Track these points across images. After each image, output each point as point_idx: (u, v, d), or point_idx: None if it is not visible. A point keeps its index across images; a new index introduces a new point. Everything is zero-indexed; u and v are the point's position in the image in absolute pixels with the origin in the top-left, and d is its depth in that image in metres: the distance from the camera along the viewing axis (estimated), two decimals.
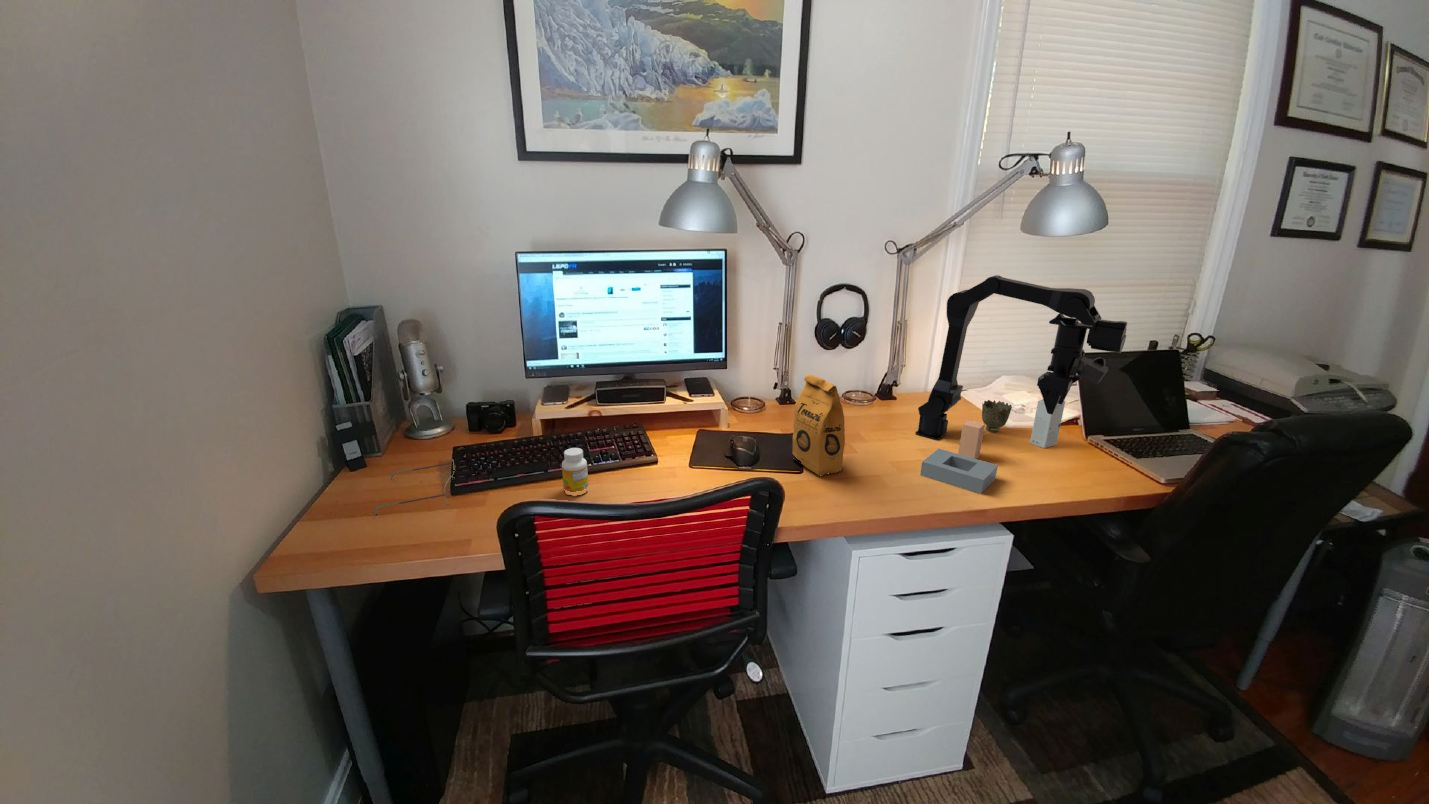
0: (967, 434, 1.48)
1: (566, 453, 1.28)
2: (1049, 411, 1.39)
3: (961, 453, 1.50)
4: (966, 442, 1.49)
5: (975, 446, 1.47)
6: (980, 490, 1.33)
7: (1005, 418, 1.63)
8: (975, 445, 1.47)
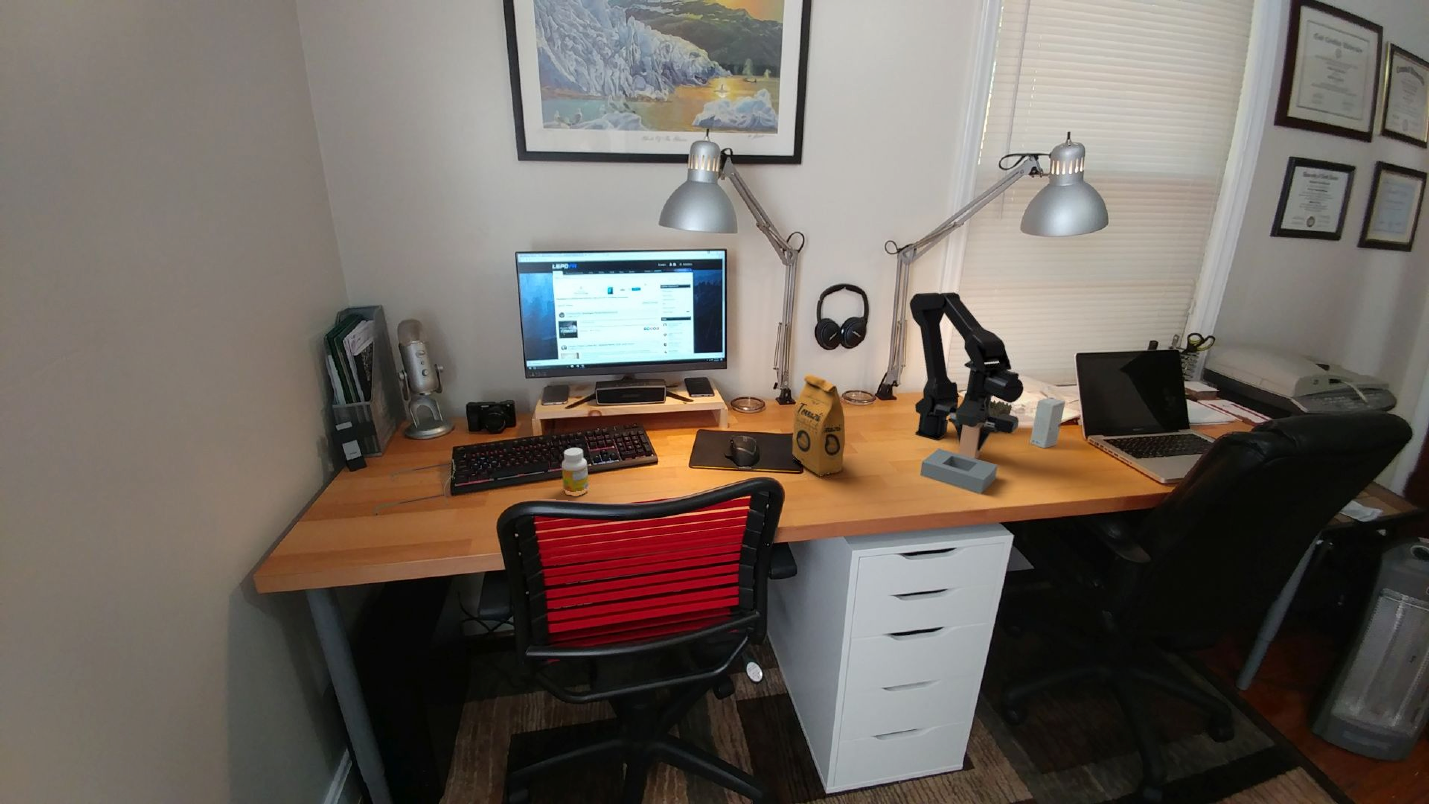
0: (966, 434, 1.48)
1: (566, 453, 1.28)
2: None
3: (961, 453, 1.50)
4: (966, 442, 1.49)
5: (975, 446, 1.47)
6: (980, 490, 1.33)
7: None
8: (975, 445, 1.47)
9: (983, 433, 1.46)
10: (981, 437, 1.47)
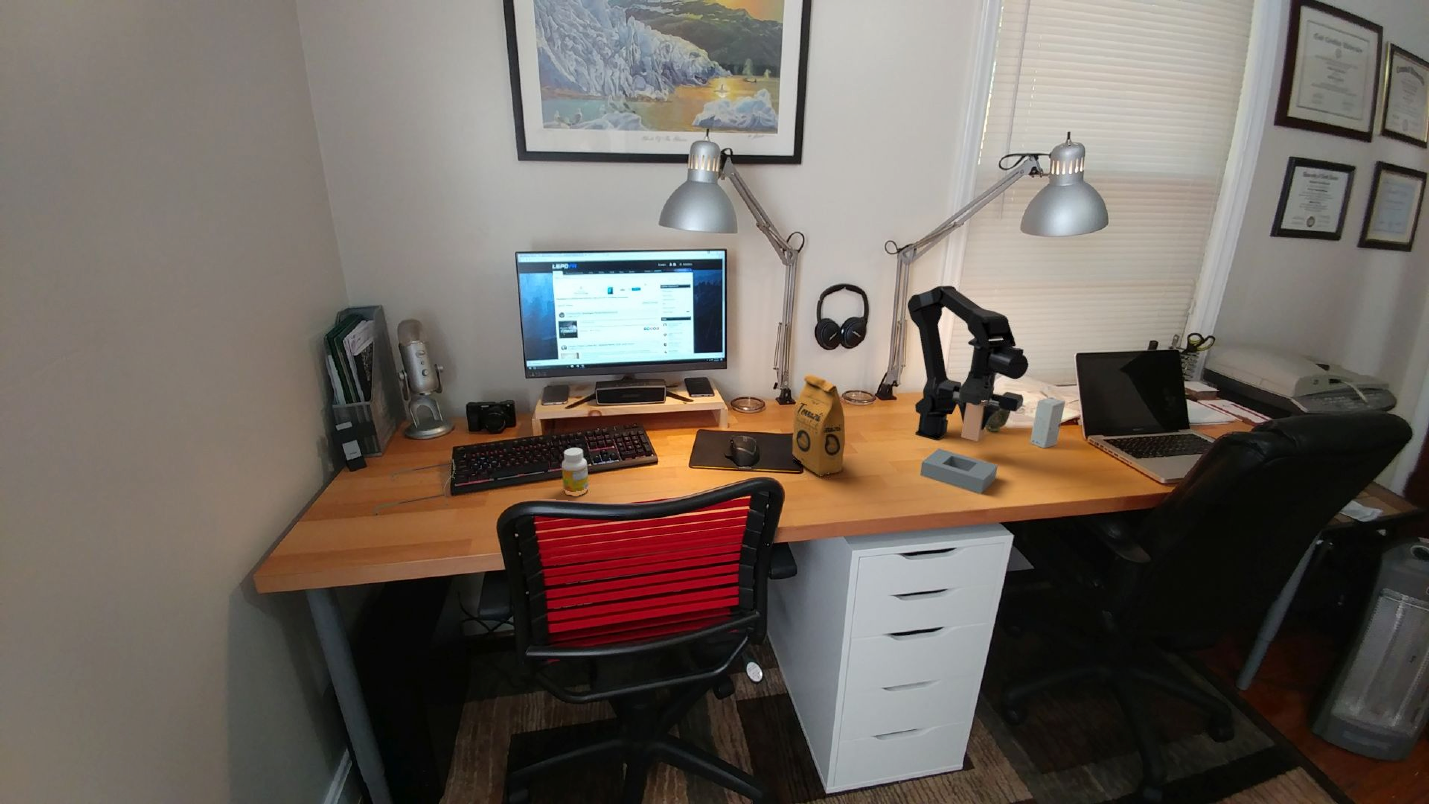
0: (970, 413, 1.46)
1: (566, 453, 1.28)
2: None
3: (965, 433, 1.48)
4: (969, 421, 1.47)
5: (979, 425, 1.45)
6: (980, 490, 1.33)
7: (1005, 418, 1.63)
8: (979, 424, 1.45)
9: (987, 412, 1.44)
10: (985, 416, 1.45)
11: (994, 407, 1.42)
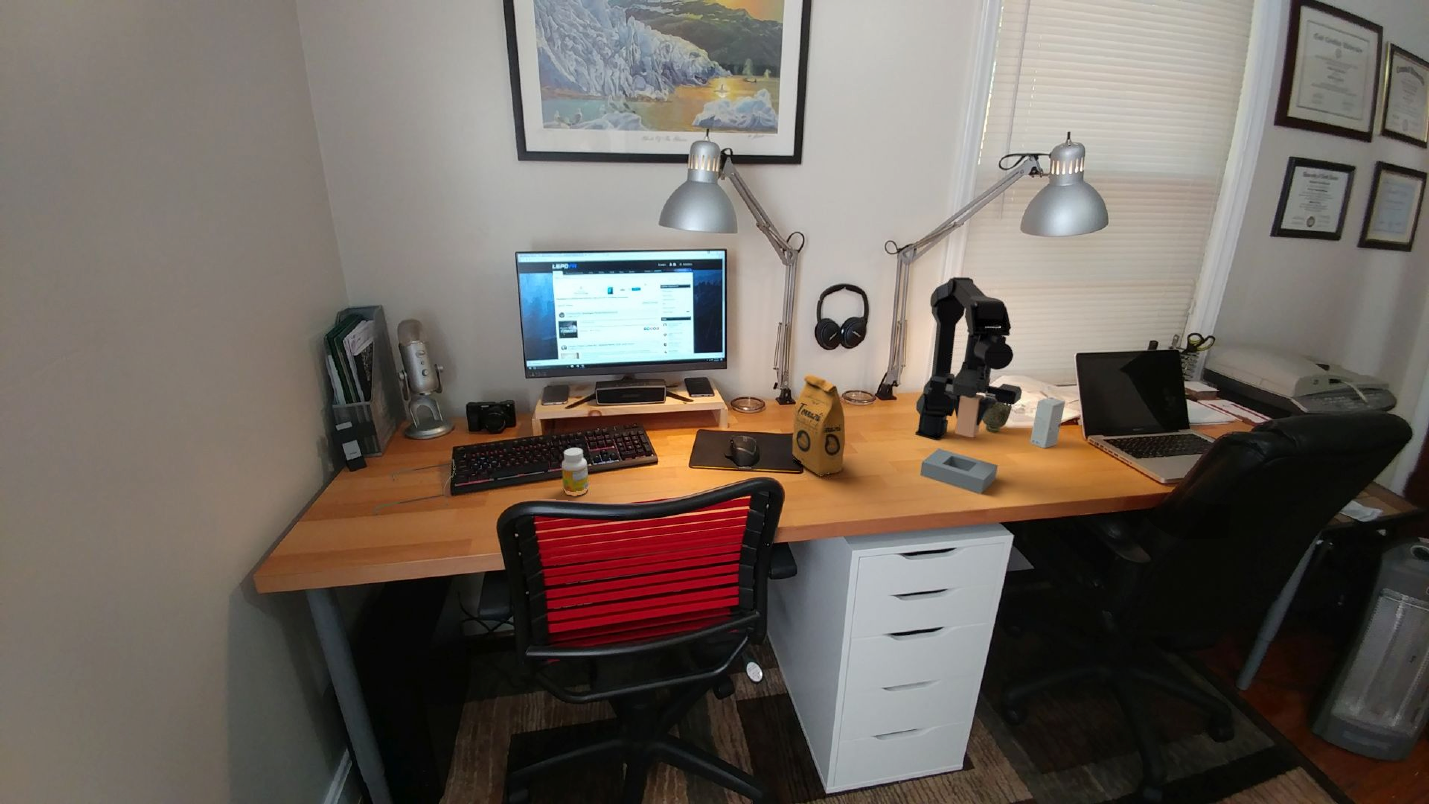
0: (965, 407, 1.35)
1: (566, 453, 1.28)
2: None
3: (959, 428, 1.37)
4: (964, 416, 1.36)
5: (974, 420, 1.34)
6: (980, 490, 1.33)
7: (1005, 418, 1.63)
8: (974, 419, 1.34)
9: (983, 405, 1.33)
10: (980, 410, 1.34)
11: (990, 400, 1.31)
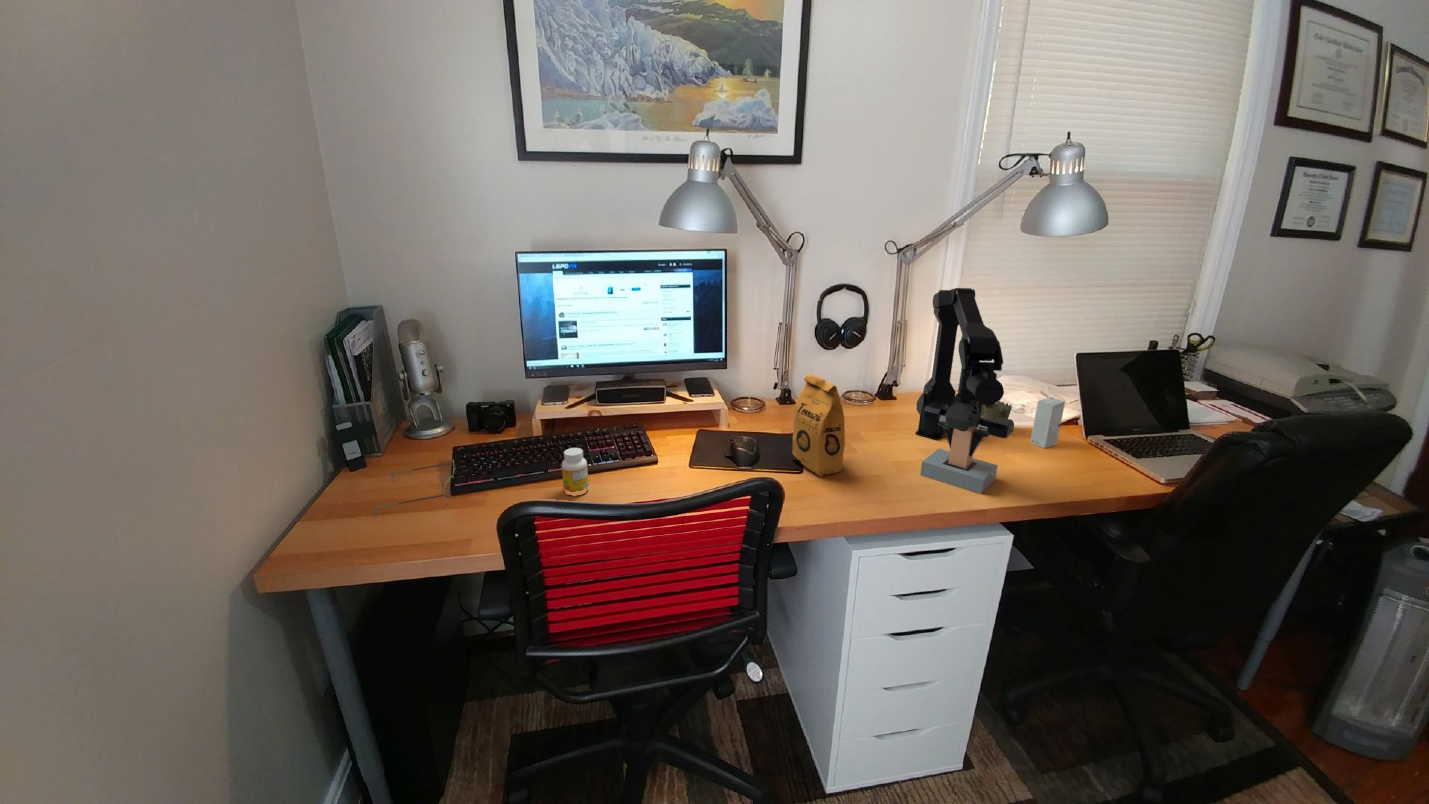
0: (958, 439, 1.36)
1: (566, 453, 1.28)
2: None
3: (952, 459, 1.39)
4: (957, 447, 1.37)
5: (967, 451, 1.36)
6: (980, 490, 1.33)
7: None
8: (967, 450, 1.36)
9: (975, 438, 1.34)
10: (973, 442, 1.35)
11: (983, 433, 1.32)
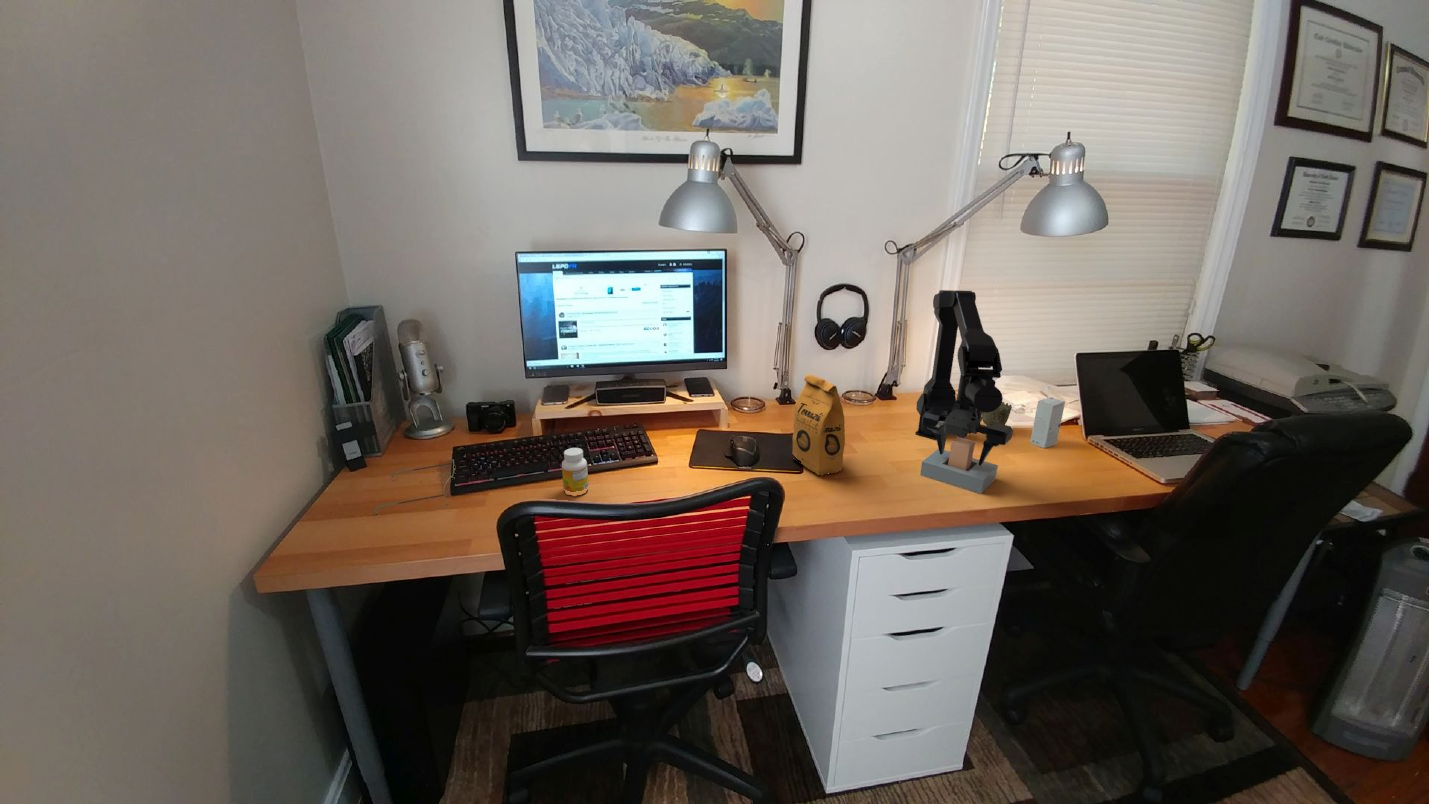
0: (956, 453, 1.38)
1: (566, 453, 1.28)
2: None
3: None
4: (955, 461, 1.38)
5: (965, 466, 1.37)
6: (980, 490, 1.33)
7: (1005, 418, 1.63)
8: (965, 465, 1.37)
9: (985, 447, 1.33)
10: (983, 451, 1.34)
11: None
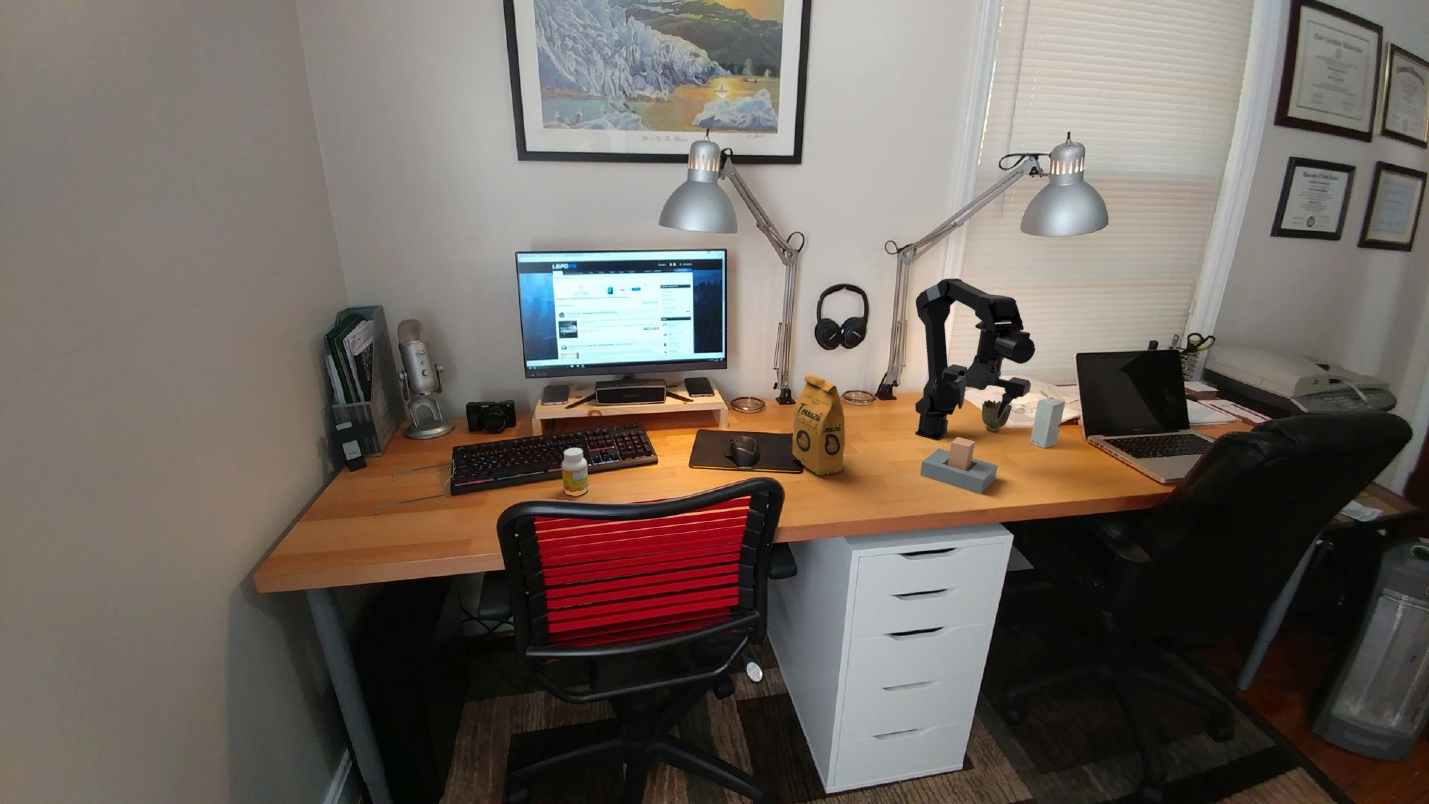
0: (955, 453, 1.38)
1: (566, 453, 1.28)
2: None
3: None
4: (955, 461, 1.38)
5: (965, 466, 1.37)
6: (980, 490, 1.33)
7: (1005, 418, 1.63)
8: (965, 465, 1.37)
9: (1004, 400, 1.38)
10: (1001, 404, 1.39)
11: (1011, 395, 1.36)
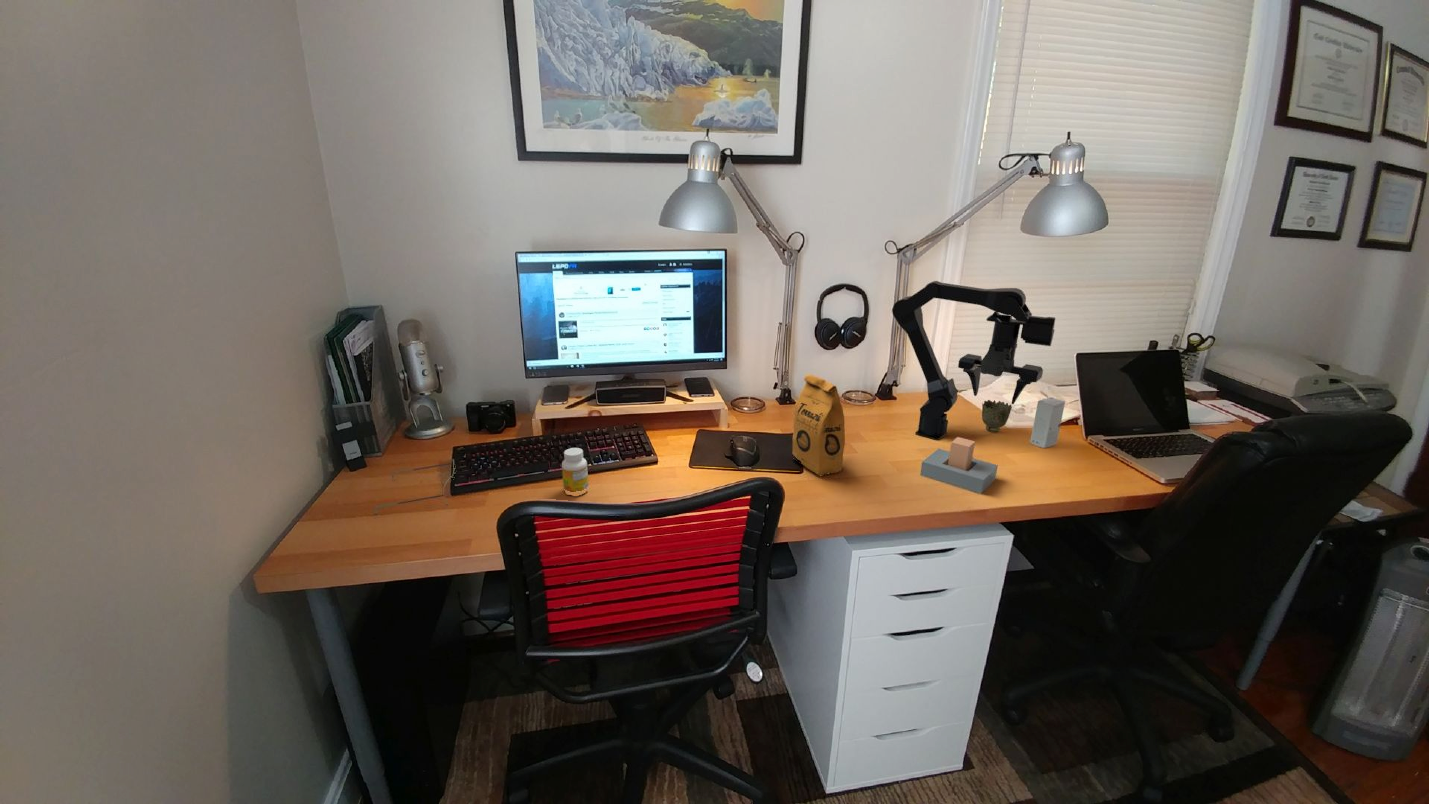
0: (955, 453, 1.38)
1: (566, 453, 1.28)
2: None
3: None
4: (955, 461, 1.38)
5: (965, 466, 1.37)
6: (980, 490, 1.33)
7: (1005, 418, 1.63)
8: (965, 465, 1.37)
9: (1018, 386, 1.47)
10: (1016, 390, 1.48)
11: (1025, 381, 1.45)
